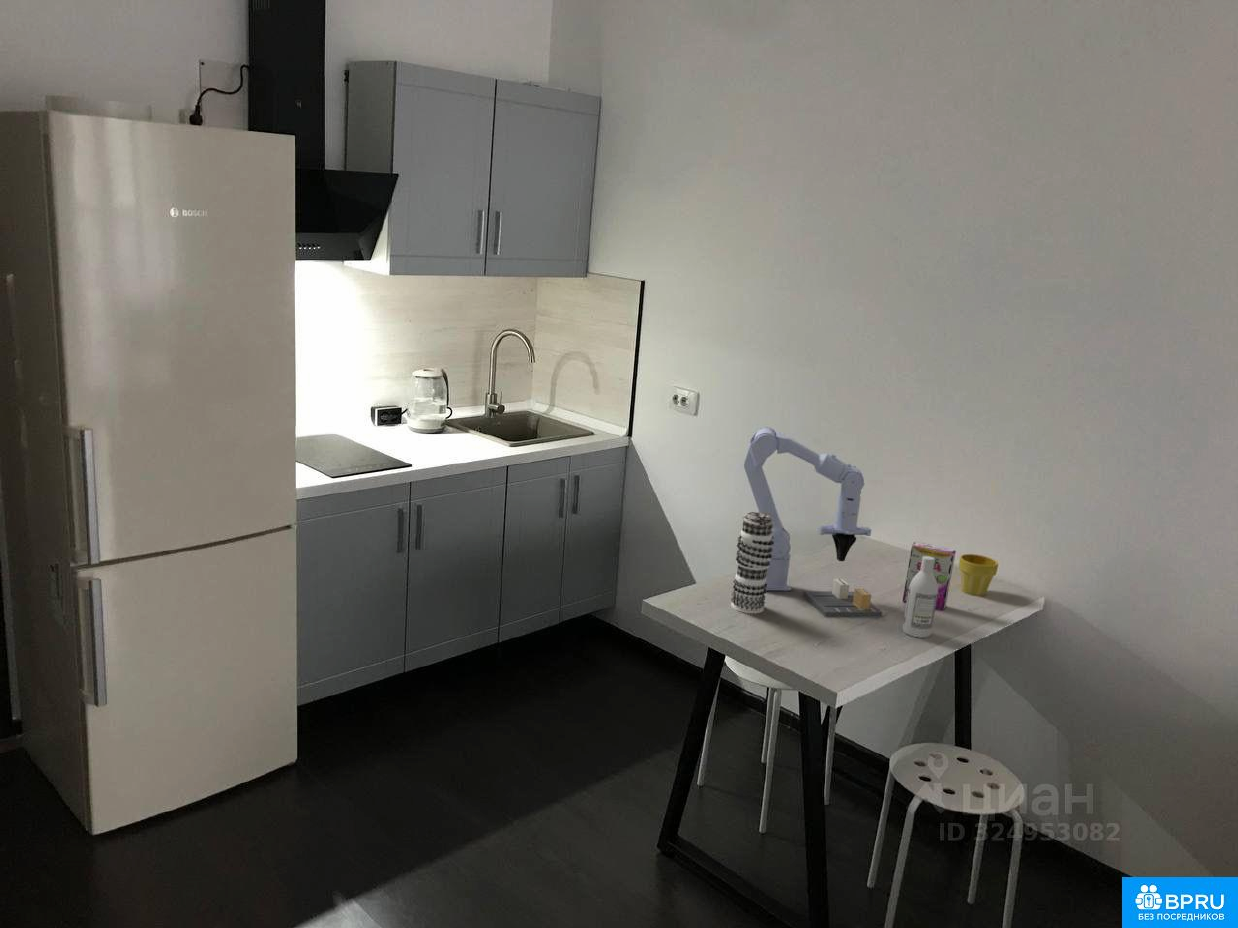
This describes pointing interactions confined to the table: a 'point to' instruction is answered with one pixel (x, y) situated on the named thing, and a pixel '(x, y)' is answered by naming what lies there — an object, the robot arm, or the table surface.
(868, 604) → the amber fader knob
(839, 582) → the cream fader knob
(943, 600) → the candy bar box
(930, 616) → the bath foam
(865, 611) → the mixing board
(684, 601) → the table surface
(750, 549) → the decorative candle
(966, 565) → the plant pot
